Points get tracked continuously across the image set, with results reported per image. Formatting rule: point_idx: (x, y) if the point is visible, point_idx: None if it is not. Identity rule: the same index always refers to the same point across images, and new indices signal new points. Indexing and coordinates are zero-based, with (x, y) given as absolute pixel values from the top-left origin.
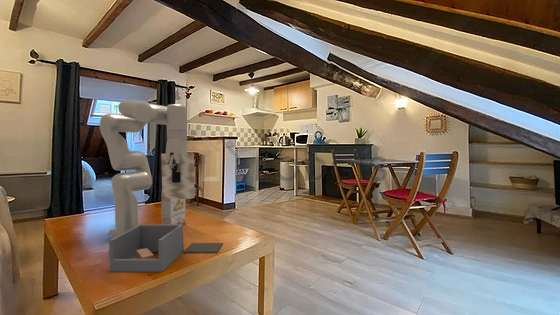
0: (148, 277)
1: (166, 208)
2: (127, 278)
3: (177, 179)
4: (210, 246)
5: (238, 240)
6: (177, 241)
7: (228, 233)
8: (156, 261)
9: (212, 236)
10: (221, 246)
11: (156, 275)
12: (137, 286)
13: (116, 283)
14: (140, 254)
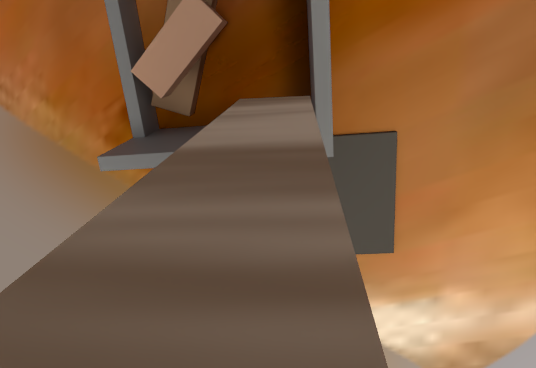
0: (110, 118)
1: None
2: (89, 54)
3: None
4: (355, 219)
5: (433, 292)
6: None
7: (532, 237)
8: (133, 129)
9: (496, 181)
10: (366, 251)
11: (126, 135)
12: (60, 118)
13: (56, 41)
14: (154, 41)
